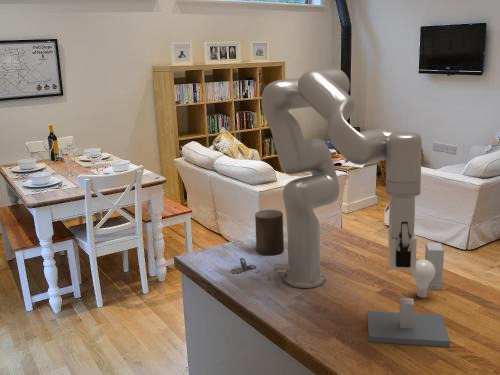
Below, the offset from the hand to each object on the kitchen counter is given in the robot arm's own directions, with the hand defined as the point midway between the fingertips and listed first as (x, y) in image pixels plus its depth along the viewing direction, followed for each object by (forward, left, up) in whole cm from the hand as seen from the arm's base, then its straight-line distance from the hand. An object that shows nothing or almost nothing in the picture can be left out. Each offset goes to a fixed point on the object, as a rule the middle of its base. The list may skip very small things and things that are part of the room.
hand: (401, 260), depth 117 cm
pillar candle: (-40, +48, -18) cm, 64 cm away
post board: (+1, 0, -18) cm, 18 cm away
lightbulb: (+7, +18, -18) cm, 26 cm away
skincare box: (+11, +26, -18) cm, 34 cm away
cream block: (0, 0, -1) cm, 1 cm away
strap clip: (-46, +31, -19) cm, 58 cm away
